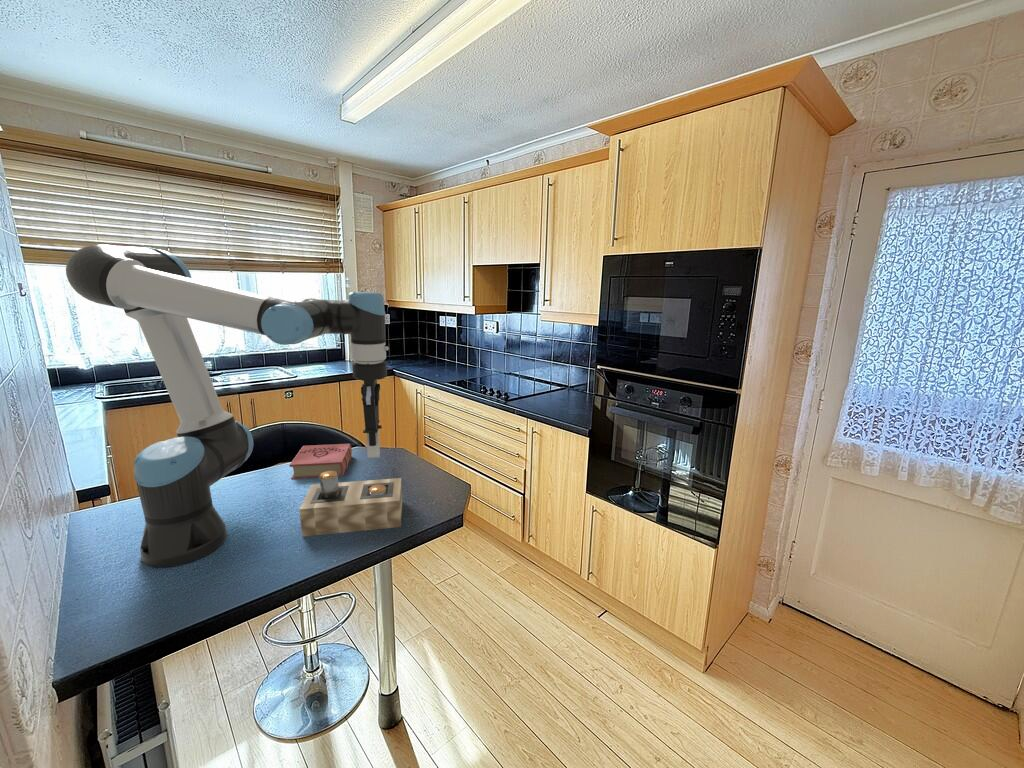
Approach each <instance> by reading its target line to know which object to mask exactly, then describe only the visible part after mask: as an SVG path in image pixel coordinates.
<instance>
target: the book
mask: <svg viewBox="0 0 1024 768" xmlns="http://www.w3.org/2000/svg"><path fill="white" fill-rule="evenodd" d="M352 449H353V448H352V445H351V443H337V444H317V445H313V444H311V445H303V446H302V447H301V448H300V449H299V451H298V452H297V454H296V455H295V457H293V459H292V461H291V462H290V464H289V468H292V469H293V475H292V476H291V478H290V479H291V480H298V479H299V480H301V479H303V480H304V479H315V478H317V479H320V478H319V476H320V474H321V473H323V472H326V471H335V472H337V474H338V477H344V475H345V472H346V471H347V470H348V467H349V463H350V462H351V461H352V458H353V457H352V455H353V450H352Z"/></svg>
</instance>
